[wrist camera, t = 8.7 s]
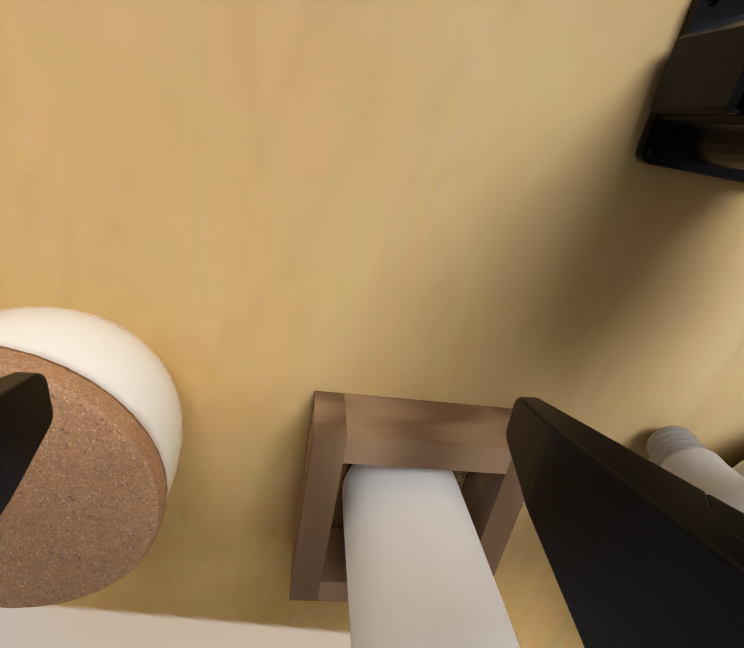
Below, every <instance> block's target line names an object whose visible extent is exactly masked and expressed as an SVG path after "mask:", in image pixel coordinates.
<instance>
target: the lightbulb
mask: <svg viewBox="0 0 744 648" xmlns="http://www.w3.org/2000/svg"><path fill="white" fill-rule="evenodd" d="M646 449H647V452H648V454H649V455H650V457H651V460H652V462H653V463H655V464H657V465H658V466H660V467H662V468H664V469H666V470H667V471H669V472H671V473H673V474H674V475H676V476H678V477H680V478H682V479H683V480H685V481H687V482H689V483H691V484H692V485H694V486H696V487H698V488H699V489H701V490H703V491H704V492H705V493H706V495H707V494H710V495H712V496H714V497H716V498H717V499H719V500H721V501H723V502H725V503H726V504H728V505H730V506H732V507H734V508H735V509H737V510H739V511H741V512H743V513H744V477H743V476H742V475H740V474H739V473H737V472H736V471H735V470H733V469H732V468H731V467H730V466H728V465H727V464H726V463H725V462H724V461H723V460H722V459H721V458H720V457H719V456H718V455H717V454H716V453H714V452H712V451H711V450H708V449H707V448H706V447H705V446H704V445H703V444H702V443H701V442H700V441H699V440H698V439H697V438H696V437H695V436H694V435H693V434H692V433H691V432H690V431H689V430H688V429H686V428H683V427H679V426H668V427H664V428H661V429H659V430H657V431H655V432H654V433H653V434H652V435H651V436H650V437H649V439H648V441H647V444H646Z"/></svg>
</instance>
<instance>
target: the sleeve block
mask: <svg viewBox="0 0 744 648" xmlns="http://www.w3.org/2000/svg"><path fill="white" fill-rule="evenodd" d="M511 412H512V409H509V408H498V407H486V406H475V405H464V404H453V403H442V402H431V401H420V400H409V399H398V398H387V397H376V396H365V395H354V394H343V393H332V392H321V391H315V394H314V401H313V408H312V415H311V422H310V429H309V436H308V443H307V450H306V457H305V464H304V471H303V478H302V485H301V492H300V499H299V506H298V513H297V520H296V527H295V534H294V541H293V553H292V568H291V583H290V598H289V600H309V601H348V588H347V572H346V556H345V540H344V528H331V524H332V519H333V514H334V508H335V503H336V497H337V492H338V487H339V481H340V476H341V470H342V465H343V463H345V464H360V465H375V466H390V467H406V468H421V469H436V470H451V471H467V472H468V475H467V478H466V481H465V484H464V487H463V490H462V496H463V499H464V501H465V504H466V506H467V509H468V512H469V514H470V517H471V519H472V522H473V525H474V527H475V530H476V532H477V535H478V538H479V540H480V543H481V545H482V548H483V551H484V553H485V556H486V559H487V561H488V564H489V566H490V569H491V572H492V574H493V576H494V574H495V571H496V569H497V566H498V564H499V561H500V559H501V557H502V554H503V552H504V549H505V547H506V544H507V542H508V539H509V537H510V534H511V532H512V529H513V527H514V524H515V522H516V519H517V517H518V514H519V512H520V509H521V507H522V504H523V502H524V498H523V495H522V491H521V488H520V485H519V481H518V478H517V474H516V471H515V468H514V464H513V461H512V457H511V454H510V451H509V447H508V444H507V440H506V430H507V426H508V422H509V419H510V416H511Z"/></svg>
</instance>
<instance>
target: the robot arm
mask: <svg viewBox="0 0 744 648" xmlns="http://www.w3.org/2000/svg"><path fill="white" fill-rule="evenodd" d="M651 146H652V148H653V152H652V154H651V155H650V156H648V154H647V153H648V150H649V148H650V147H651ZM636 157H637V159H638V161H639V162H641V163H645V164H650V165H655V166H661V167H666V168H671V169H676V170H681V171H686V172H692V173H697V174H702V175H707V176H712V177H717V178H723V179H728V180H733V181H738V182H743V183H744V0H712V1H711V4H710V5H709V6H708V4H707V0H693V3H692V5H691V8H690V10H689V13H688V16H687V18H686V21H685V24H684V26H683V29H682V32H681V34H680V37H679V39H678V40H677V41H676V43H675V46H674V49H673V51H672V54H671V57H670V59H669V62H668V64H667V67H666V70H665V72H664V75H663V78H662V80H661V83H660V86H659V88H658V91H657V94H656V96H655V99H654V101H653V104H652V111H651V113H650V116H649V119H648V121H647V124H646V126H645V129H644V132H643V134H642V137H641V140H640V142H639V145H638V148H637V151H636ZM52 420H53V407H52V402H51V397H50V392H49V387H48V382H47V379H46V377H45V376H44V375H43V374H41V373H33V372H15V373H12V374H9V375H6V376H3V377H0V515H1V514H2V512H3V511H4V509H5V508H6V506H7V505H8V503H9V501H10V500H11V498H12V497H13V495H14V493H15V491H16V490H17V488H18V486H19V484H20V482H21V481H22V479H23V477H24V475H25V473H26V471H27V469H28V467H29V465H30V463H31V462H32V460H33V458H34V456H35V454H36V452H37V450H38V448H39V446H40V444H41V443H42V441H43V439H44V437H45V435H46V433H47V431H48V429H49V427H50V425H51V423H52ZM506 440H507V444H508V447H509V451H510V454H511V457H512V461H513V464H514V468H515V471H516V474H517V478H518V481H519V485H520V488H521V491H522V495H523V498H524V501H525V504H526V507H527V509H528V512H529V515H530V517H531V520H532V522H533V524H534V527H535V529H536V532H537V534H538V536H539V539H540V541H541V544H542V546H543V548H544V551H545V553H546V556H547V558H548V560H549V563H550V565H551V568H552V570H553V572H554V575H555V577H556V580H557V582H558V584H559V587H560V589H561V592H562V594H563V597H564V599H565V601H566V604H567V606H568V609H569V611H570V613H571V616H572V618H573V621H574V623H575V625H576V628H577V630H578V633H579V635H580V637H581V640H582V642H583V645H584V647H585V648H744V513H743V512H741V511H739V510H737V509H735V508H734V507H732V506H730V505H728V504H726V503H725V502H723V501H721V500H719V499H717V498H716V497H714V496H712V495H710V494H707V495H706V493H705V492H704V491H703V490H701V489H699V488H698V487H696V486H694V485H692V484H691V483H689V482H687V481H685V480H683V479H682V478H680V477H678V476H676V475H674V474H673V473H671V472H669V471H667V470H666V469H664V468H662V467H660V466H658V465H657V464H655V463H653V462H651V461H649V460H648V459H646V458H644V457H642V456H641V455H639V454H637V453H635V452H633V451H632V450H630V449H628V448H626V447H624V446H623V445H621V444H619V443H617V442H616V441H614V440H612V439H610V438H608V437H607V436H605V435H603V434H601V433H599V432H598V431H596V430H594V429H592V428H591V427H589V426H587V425H585V424H583V423H582V422H580V421H578V420H576V419H574V418H573V417H571V416H569V415H567V414H566V413H564V412H562V411H560V410H558V409H557V408H555V407H553V406H551V405H550V404H548V403H546V402H544V401H542V400H541V399H539V398H535V397H519V398H517V399H516V401H515V403H514V405H513V409H512V412H511V416H510V419H509V422H508V426H507V430H506Z"/></svg>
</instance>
